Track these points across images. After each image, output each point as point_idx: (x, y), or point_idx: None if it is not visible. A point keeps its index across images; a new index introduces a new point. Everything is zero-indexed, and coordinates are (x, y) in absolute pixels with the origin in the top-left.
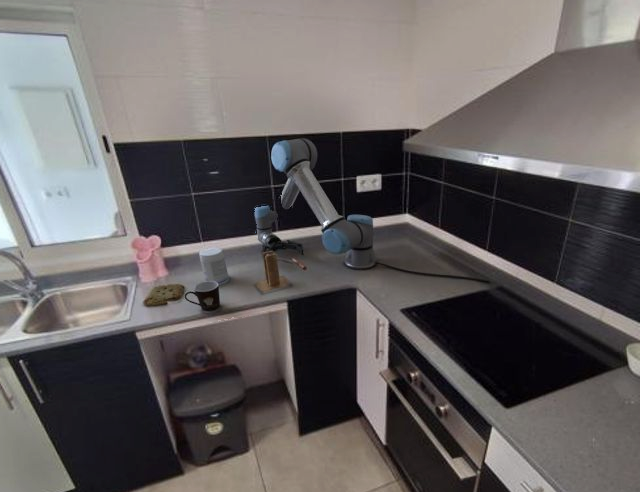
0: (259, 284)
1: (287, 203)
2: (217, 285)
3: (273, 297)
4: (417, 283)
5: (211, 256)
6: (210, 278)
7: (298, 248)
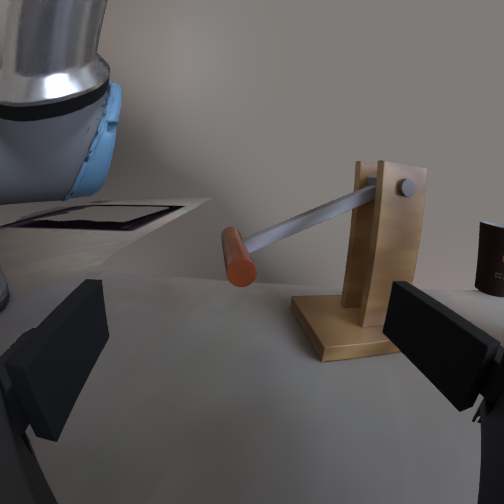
0: None
1: None
2: (483, 222)
3: None
4: (28, 243)
5: None
6: None
7: (70, 330)
